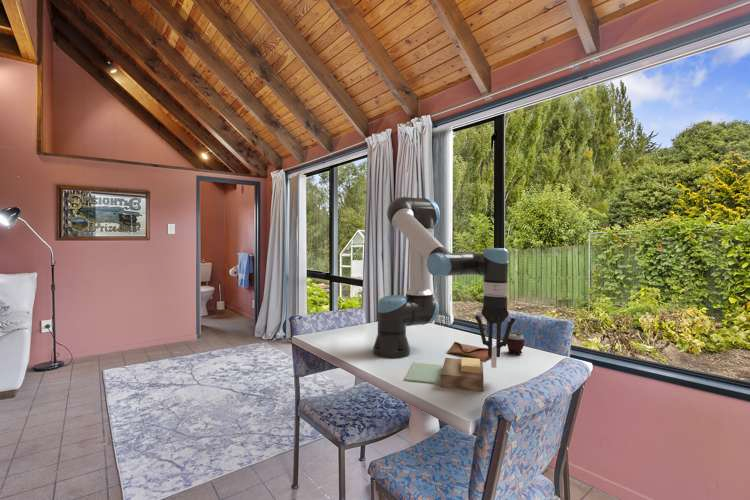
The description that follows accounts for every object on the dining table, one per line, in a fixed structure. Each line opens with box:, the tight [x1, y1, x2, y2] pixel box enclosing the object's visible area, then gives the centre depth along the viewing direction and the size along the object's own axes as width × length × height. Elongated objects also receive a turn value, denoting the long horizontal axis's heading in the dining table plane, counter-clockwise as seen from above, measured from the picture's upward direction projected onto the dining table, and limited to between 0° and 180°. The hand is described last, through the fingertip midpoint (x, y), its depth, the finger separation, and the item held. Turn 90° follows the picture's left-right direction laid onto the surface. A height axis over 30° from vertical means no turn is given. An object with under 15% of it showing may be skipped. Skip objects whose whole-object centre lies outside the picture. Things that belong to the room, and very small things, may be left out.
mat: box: [404, 361, 444, 385], centre depth 132 cm, size 12×18×1 cm, turn 165°
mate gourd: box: [506, 318, 531, 356], centre depth 157 cm, size 8×8×15 cm
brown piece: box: [440, 357, 484, 392], centre depth 126 cm, size 13×18×4 cm
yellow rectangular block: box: [461, 357, 480, 373], centre depth 126 cm, size 6×9×2 cm, turn 165°
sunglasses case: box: [445, 341, 491, 363], centre depth 153 cm, size 18×7×7 cm, turn 51°
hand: (493, 366), depth 124 cm, fingers closed
